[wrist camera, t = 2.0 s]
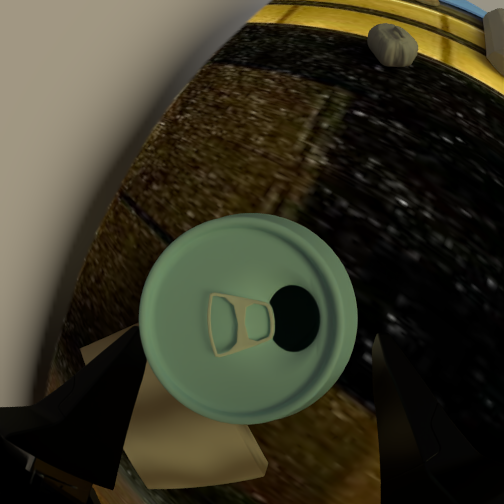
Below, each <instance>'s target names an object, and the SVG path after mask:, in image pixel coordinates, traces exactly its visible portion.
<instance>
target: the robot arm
mask: <svg viewBox="0 0 504 504" xmlns="http://www.w3.org/2000/svg"><path fill="white" fill-rule="evenodd" d="M146 363H147V358H146V356H145V353H144V349H143V346H142V342H141V337H140V330H139V326H132V327H131V328H130V329H129V330H127V331H126V332H125V333H124V334H123V335H121V336H120V337H119V338H118V339H117V340H115V341H114V342H113V343H112V344H111V345H109V346H108V347H107V348H106V349H105V350H103V351H102V352H101V353H100V354H99V355H97V356H96V357H95V358H94V359H93V360H91V361H90V362H89V363H88V364H87V365H86V366H84V367H83V368H82V369H81V370H80V371H78V372H77V373H76V375H74V376H72V377H71V378H70V379H69V380H68V381H66V382H65V383H64V384H63V385H62V386H60V387H59V388H58V389H56V390H55V391H53V392H52V393H51V394H49V395H48V396H46V397H45V398H44V399H42V400H41V401H39V402H38V403H36V404H34V405H31V406H24V407H0V504H101V503H100V501H99V499H98V497H97V495H96V493H95V490H94V488H92V485H93V484H96V485H98V486H101V487H104V488H107V489H110V490H113V489H114V486H115V481H116V477H117V472H118V468H119V464H120V460H121V455H122V451H123V447H124V443H125V439H126V435H127V431H128V428H129V424H130V420H131V417H132V413H133V410H134V406H135V403H136V399H137V396H138V393H139V389H140V386H141V383H142V380H143V376H144V372H145V367H146ZM372 364H373V391H374V400H375V408H376V417H377V427H378V439H379V453H380V474H381V504H504V464H502V463H499V462H497V461H494V460H492V459H489V458H487V457H485V456H483V455H481V454H480V453H479V452H477V451H476V450H475V449H474V447H473V446H472V445H471V444H470V443H469V441H468V440H467V439H466V438H465V437H464V435H463V434H462V433H461V432H460V431H459V429H458V428H457V427H456V426H455V425H454V423H453V422H452V421H451V420H450V418H449V417H448V415H447V414H446V412H445V411H444V410H443V408H442V407H441V405H440V404H439V403H437V402H438V401H437V399H436V398H435V396H434V395H433V394H432V392H431V391H430V389H429V388H428V386H427V385H426V384H425V382H424V381H423V379H422V378H421V377H420V375H419V374H418V372H417V371H416V370H415V368H414V367H413V365H412V364H411V363H410V361H409V360H408V359H407V357H406V356H405V355H404V353H403V352H402V351H401V349H400V348H399V347H398V345H397V344H396V343H395V341H394V340H393V339H392V337H391V336H390V335H389V334H388V333H378V334H377V335H376V338H375V341H374V344H373V347H372Z"/></svg>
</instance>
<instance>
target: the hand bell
mask: <svg viewBox="0 0 504 504" xmlns="http://www.w3.org/2000/svg"><path fill="white" fill-rule="evenodd" d="M415 1H418V2H420V3H423V4H427V5H431V6H439V1H438V0H415Z"/></svg>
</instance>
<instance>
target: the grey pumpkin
mask: <svg viewBox="0 0 504 504" xmlns="http://www.w3.org/2000/svg"><path fill="white" fill-rule="evenodd" d="M368 46H369V48H370V50H371V51H372V52H373V53H374V55H375V56H376V58H377V59H378V60H379V62H380V63H381V64H383V65H384V66H389V67H390V66H393V67H403V66H409V65H411V64H412V62H413V60H414V59H415V57H416V55H417V51H418V44H417V42H416V41H415V39H414V38H413V37H412V36H411V35H410V34H409V33H408V32H406V31H405V30H404V29H403V28H401V27H398V26H395V25H393V24H387V23H384V24H378V25H376V26H374V27H373V28H372V29H371V30H370V31H369V33H368Z"/></svg>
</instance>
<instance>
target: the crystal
mask: <svg viewBox="0 0 504 504" xmlns="http://www.w3.org/2000/svg"><path fill="white" fill-rule="evenodd" d="M483 25H484V33H485V43H486V57H487V59H488V60H489V61H490V63H491V64H492V65H493V67H494V68H495V69H496V70H497V71H498V72H499V73H501V74H502V75H503V76H504V9H502V8H501V9H500V8H499V9H495V10H493V11H491V12H488V13H487V14H486V15H485V17H484V18H483ZM491 33H492V34H491ZM493 46H494V47H493Z"/></svg>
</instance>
